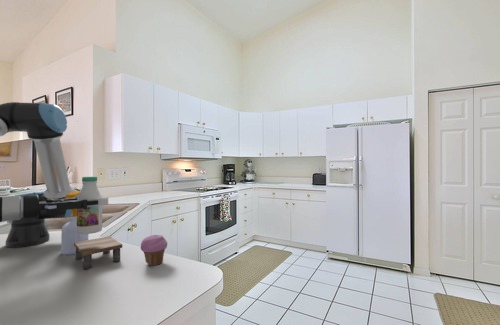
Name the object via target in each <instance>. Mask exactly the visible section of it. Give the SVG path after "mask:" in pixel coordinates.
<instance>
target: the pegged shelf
mask: <svg viewBox="0 0 500 325" xmlns="http://www.w3.org/2000/svg"><path fill="white" fill-rule="evenodd" d="M74 246H75V248H76V254H75V260H76V261H78V260H82V264H83V266H82V269H83V270H85V271H88V270H91V269H92V266H93V264H92V263H93V262H92V261H93V259H92V258H93V257H92V256H93V255H95V254H99V253H102V254H104V255H105V254H110V253H111V251H112V262H113V263H119V262H120V261H121V249H123V243H121V242H120V241H118V240H117V239H116V238H113V237H112V236H110V235H108V236H103V237H97V238H93V239H88V240H86V241H80V242H75V243H74Z"/></svg>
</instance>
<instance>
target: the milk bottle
mask: <svg viewBox="0 0 500 325" xmlns="http://www.w3.org/2000/svg"><path fill="white" fill-rule="evenodd" d="M81 181H82V187H81V190H80V191H81V192H80V194H79V196H78V199H77V200H85V199H86V200H87V199H94V198H103V196H102V194H101V192H100V190H99V189H98V185H97V183H98V176H82V177H81ZM101 196H102V197H101ZM81 205H82V203H81ZM102 230H103V206H93V207H87V209H85V208H79V209H77V233H78V234H88V235H90V234H95V233H100V232H102Z"/></svg>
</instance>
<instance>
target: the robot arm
mask: <svg viewBox="0 0 500 325" xmlns="http://www.w3.org/2000/svg"><path fill="white" fill-rule="evenodd" d="M67 128H68V120H67V116H66V114H65V112H64V110H63V109H62V108H61V107H60V106H58V105H57V104H54V103H53V104H52V103H45V102H18V101H17V102H16V101H14V102H13V101H11V102H4V103H1V104H0V137H3V136H5V135H7V133H12V132H13V133H14V132H20V133H21V132H22V133H23V132H25V133H26V134H27V138H28V139H29V140H32V141H33V142H34V145H35V150H36V152H37V153H36V154H37V156H38V161H39V164H40V169H41V174H42V176H43V181H44V184H45V188H46V191H44V190H41V191H36V192H26V193H22V194H21V193H20V194H15V195H9V196H8V195H7V196H5V195H4V196H0V223H4V222H6V223H7V224H10V225H11V226H10V230H9V233H8V235H7V237H6V240H5V247H6V248H22V247H24V248H25V247H29V246H35V245H36V246H37V245H38V244H43V243H46V242H48V241H50V233H49V230H48V228H47V225H46V220H48V219H49V220H51V219H68V218H70V215H73V212H72V211H71V209H79V208H85V209H87V207H93V206H102V207H103V206H108V205H109V197H103V195H101V197H102V198H94V199H87V200H86V199H85V200H77V199H78V196H79V194H78V195H76V197H75V198H65V196H66V195H67V194H69V193H71V192H73V191H76V189H75V188H74V186H72V185H71V184H70V181H69V180H70V179H69V175H68V170H67V166H66V161H65V157H64V153H63V146H62V143H61V138H62V137H63V136H64V133H65V132H66V130H67ZM81 203H82V205H81Z"/></svg>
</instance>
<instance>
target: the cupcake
mask: <svg viewBox="0 0 500 325" xmlns="http://www.w3.org/2000/svg"><path fill="white" fill-rule="evenodd" d="M167 247H168V240H166V238H165V237H164V236H163V235H162V234H151V235H149V236H146V237H145V238H143V239H142V241H141V243H140V250H141V251H142V253H143V255H144V260H145V263H146V264H147V265H148V266H151V267H152V266H156V265H160V264H162V263H163V262H164V255H165V250H166V249H167Z"/></svg>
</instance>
